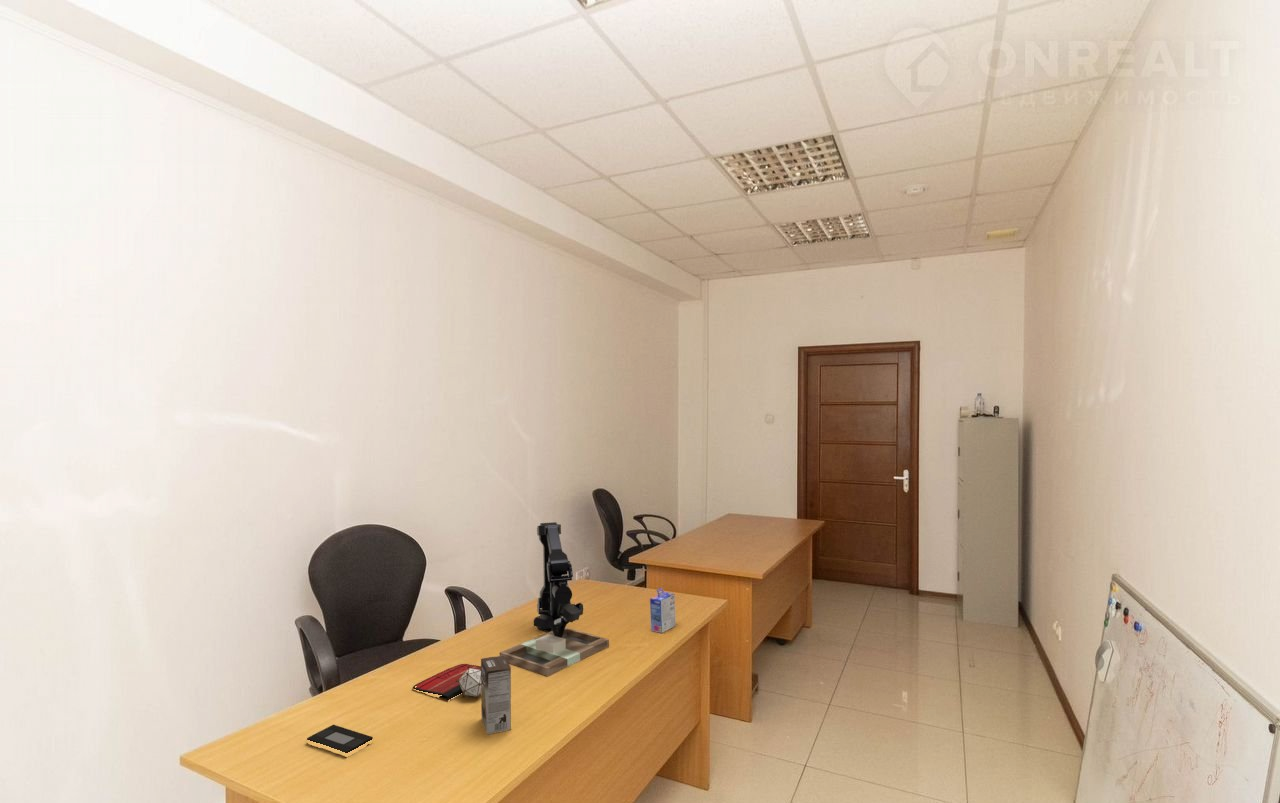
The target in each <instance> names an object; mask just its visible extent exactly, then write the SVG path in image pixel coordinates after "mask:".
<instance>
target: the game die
mask: <svg viewBox="0 0 1280 803" xmlns="http://www.w3.org/2000/svg"><path fill="white" fill-rule="evenodd" d="M455 681H456V682H459V684H460V687H461V689H462V691H463V694H462V695H461V697H462V696H464V697H465V696H469V697H473V698H474V697H476V700H477V699H478V700H479V695H480V694H481V670H479V669H472V668H470V667H469V666H468V670H467V671H466V672H465V673H464V675H463V676H462V677H461V678H460V679H459V680H455Z"/></svg>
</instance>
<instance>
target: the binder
mask: <svg viewBox="0 0 1280 803" xmlns="http://www.w3.org/2000/svg"><path fill="white" fill-rule="evenodd" d="M468 666H469V667H470V668H472V669H479V670H481V665H476V664H469V663H460V664H457V665H454V666H452V667H449V668H447V669H444V670H442V671H440V672H438V673H436V674H434V675H432V676H430V677H428V678H426V679H424V680H421V681H420V682H418V683H416V684H415V685H413V686H412V689H413V688H414V689H416V690H419V691H423V692H428V693H433V694H438V695H442V696H447V697H446V698H447V701H448V700H449V699H451V698H453V697H455V696H457V695H459V694H461V693H463V691H462V689H461V687H460V684H459V682H456V681H455V680H459V679H460V678H461V677H462V676H463V675H464V673H465V672H466V671H467V670H468ZM415 686H417V687H416V688H415Z"/></svg>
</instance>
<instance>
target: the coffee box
mask: <svg viewBox="0 0 1280 803" xmlns="http://www.w3.org/2000/svg"><path fill="white" fill-rule="evenodd" d="M480 666H481V693H480V694H481V695H480V698H481V702H480V704H481V722H482V724H483V726H484V729H485V732H486V735H491V734H490V733H492V734H496V733H495V732H497V733H500V731H502V732H506V730H507V731H511V730H512V727H511V726H512V716H511V714H512V709H511V708H512V667H511V664H510V663H508V662H507V660H506V658H505V656H500V655H498V656H489V657H483V658H481V659H480ZM510 729H511V730H510Z"/></svg>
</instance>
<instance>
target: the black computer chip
mask: <svg viewBox="0 0 1280 803" xmlns="http://www.w3.org/2000/svg"><path fill="white" fill-rule="evenodd" d="M372 739H373V740H374V738H373V736H371V735H367V734H365V733H362V732H358V731H355V730H352V729H348V728H346V727H343V726H339V725H336V724H332V725H330V726H328V727H326V728H324V729H322V730H320V731H318V732H316V733H315V734H312V735H310V736H308V737H306V741H307V740H310V741H313V742H316V743H320V744H323V745H326V746H329V747H331V748H334V749H337V750H340V751H342V752H345V753H348V752H350V751H352V750H354V749H356V748H358V747H359V746H361V745H363V744H365V743H366V742H368V741H370V740H372Z"/></svg>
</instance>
